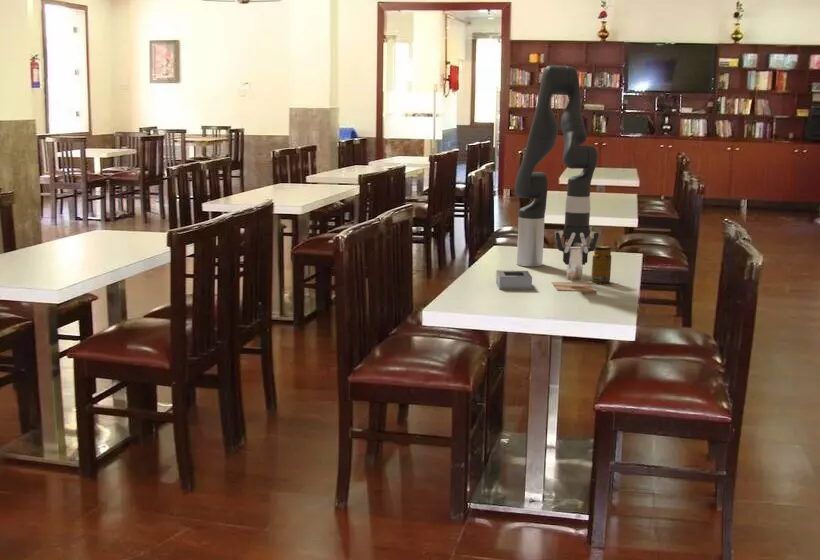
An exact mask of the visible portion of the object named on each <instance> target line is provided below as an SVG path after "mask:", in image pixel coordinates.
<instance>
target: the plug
mask: <svg viewBox="0 0 820 560" xmlns="http://www.w3.org/2000/svg"><path fill="white" fill-rule="evenodd" d="M583 250H584V249H583V248H582V246H581V247H580V246H570V248H569V250H568V253H569V257H568V265H566V280H567V281H570V282H573V281H574V282H576V281H577V282H580V281H582V280H583V268H584V267H583Z"/></svg>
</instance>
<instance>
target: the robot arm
mask: <svg viewBox="0 0 820 560" xmlns="http://www.w3.org/2000/svg"><path fill="white" fill-rule="evenodd" d="M580 88H581V87H580V81H579V75H578V71H577V69H576V67H574V66H571V65H570V66H569V65H554V64H553V65H547V66H546V67H545V68H544V70H543V73H542V75H541V80H540V86H539V92H538V97H537V103H536V107H535V112H534V116H533V120H532V123H531V125H530V130H529V133H528V138H527V142H526V143H527V144H526V148H525V152H524V154H523V158H522V161H521V164H520V165H519V170H518V172H517V175H516V178H515V183H514V192H515V195H516V196H517V198H521V199H533V200H532V202H531V203H529V204H528V205H525V206H523V207H521V208H520V209H519V210H518V220H517V222H518V223H517V226H518V227H517V244H516V245H517V246H516V247H517V248H516V265H518V266H522V267H542V266H543V257H544V241H545V240H544V238H545V237H544V236H545V217H546V216H545V215H546V209H547V198H548V189H549V183H548V182H549V181H548V176H547V174H546V173H545V172H543V171H535V168H536V167H537V166H538V165H539V163H541V161H542V160H544V159H545V158H546V157H547V156H548V155H549V154H550V152H551V151H552V150H553V149H554V147H555V144H556V141H557V137H558V133H559V125H558V121H557V119H556V117H555V114H554V112H553V110H552V106H551V99H552V96H553V95H555V96H567V97H568V103H567V104H566V107H565V109H564V111H563V112H562V115H561V118H560V127H561V132H562V136H563V142H564V143H563V144H564V146H563V154H562V162H563V164H564V166H565V167H566V168H568V169H573V170H574V169H576V170H577V169H578V170H579V169H582V171H581V173H579V174H578V175H574V176H570V177H568V180H567V185H566V186H567V190H566V195H567V196H566V199H565V211H564V212H565V213H564V226H563V229H562V230H558V231H557V230H555V231H554V233H553V234H554V239H555V242H556V247H557V250H558V251H559V252H562V253H563V254H562V262H563V263H564V264H565V265H566V266H567V265H568V257H569V253H568V250H569V248H570V247H572V244H576V243H578V244H580V245H581V247H582V248H583V249H584V250H583V265H584V266H585V265H586V264H587V263H588V259H589V258H588V257H589V256H588V255H589V253H590V252H594V251H595V249H594V248H595V246H597V241H598V239H599V235H600V234H599V233H598V232H597V231H591V229H590V218H591V217H590V216H591V183H592V180H593V177H594V176H593V175H594V173H595V170H596V167H597V164H598V160H599V152H598V150H597V148H596V147H595V146H594V145H583V144H584V143H585V142H586V141H587V139H588V135H587V131H586V130H587V129H586V127H585V122H584V119H583V115H582V104H581V103H582V102H581V91H580ZM563 235H564V236H565V238H566V240H565V242H564V246H563V245H562V237H563ZM589 235H590V237H589ZM588 237H589V238H590V239H591V240H590V243H589V246H588V245H587V242H586V239H587V238H588Z"/></svg>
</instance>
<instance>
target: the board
mask: <svg viewBox="0 0 820 560" xmlns="http://www.w3.org/2000/svg"><path fill="white" fill-rule="evenodd" d="M551 284H552V285H553V287H554V288H555V290H556V291H557V292H580V293H581V294H582V295H597V290H596V288H594V286H593V285H591V283H588V282H578V281H577V282H576V281H574V282H573V281H570V282H565V281H562V282H561V281H560V282H559V281H557V282H556V281H552V282H551Z"/></svg>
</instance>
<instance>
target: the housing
mask: <svg viewBox="0 0 820 560" xmlns="http://www.w3.org/2000/svg"><path fill="white" fill-rule="evenodd" d="M495 274H496V275H495V284H496V286H497V288H498V290H503V291H504V290H510V291H511V290H514V291H515V290H517V291H526V290H527V291H532V288H533V276H532V275H531V273H530V272H529V270H501V269H500V270H496V272H495Z"/></svg>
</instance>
